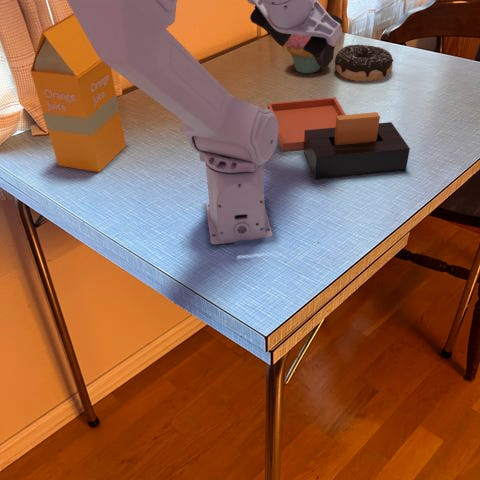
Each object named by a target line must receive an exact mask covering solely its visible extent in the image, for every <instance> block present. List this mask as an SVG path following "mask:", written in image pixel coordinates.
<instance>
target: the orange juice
mask: <svg viewBox="0 0 480 480" xmlns="http://www.w3.org/2000/svg"><path fill="white" fill-rule="evenodd" d="M30 73H31V79H32V82H33V84H34V88H35V91H36V95H37V98H38V101H39V105H40V108H41V112H42V116H43V120H44V123H45V126H46V130H47V132H48V136H49V139H50V142H51V145H52V148H53V152H54V155H55V159H56V162H57V165H58V166H59V167H66V168H71V169H77V170H84V171H91V172H96V173H97V172H98V173H101V171H103V170H104V169H105V167H107V165H108V164H110V162H112V161H113V159H115V158H116V157H117V156H118V155H119V154H120V153H121V152H122V151H123V150H124V149H125V148H126V147H127V143H126V137H125V134H124V128H123V122H122V118H121V114H120V106H119V101H118V96H117V95H118V94H117V92H116V88H115V83H114V78H113V71H112V68H111V67H110V66H108V65H107V64H106V63H104V62H103V61H102V60H101V59H100V58H99V57H98V55H97V54H96V52H95V50H94V48H93V47H92V45H91V43H90V41H89V40H88V38H87V36H86V34H85V32H84V31H83V29H82V27H81V25H80V23H79V22H78V20H77V18H76V16H75V14H74V13H72V14H70V15H68V16H66V17H64V18H63V19H61V20H59V21H57V22H56V23H54V24H52V25H51V26H49V27H46V28H45V29H43V30H41V34H40V38H39V41H38V45H37V47H36V52H35V55H34V58H33V61H32V65H31V69H30Z"/></svg>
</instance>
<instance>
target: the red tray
mask: <svg viewBox="0 0 480 480" xmlns="http://www.w3.org/2000/svg"><path fill="white" fill-rule="evenodd" d="M267 109H269V110H272V111H273V112H274V114H275V116H276V118H277V121H278V139H277V142H278V144H279V146H280V149H281V152H292V151H304V134H305V130H313V129H324V128H334V127H336V116H341V115H346V113H345V111H344V109H343V108H342V106H341V104H340V102H339V101H338V99H337V97H335V96H334V97H333V96H332V97H323V98H312V99H311V98H310V99H301V100H290V101H279V102H278V101H277V102H268V103H267Z"/></svg>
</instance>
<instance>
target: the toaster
mask: <svg viewBox="0 0 480 480" xmlns="http://www.w3.org/2000/svg"><path fill="white" fill-rule="evenodd" d="M334 140H335V127H334V128H324V129H313V130H305V134H304V149H303V153H304V156H305V158H306V160H307V163H308V165H309V168H310V170H311V173H312V175H313V177H314V180H315V181H318V180H320V181H321V180H329V179H339V178H347V177H348V178H350V177H357V176H359V177H360V176H371V175H377V174H389V173H399V172H406V171H407V167H408V161H409V156H410V149H411V148H410V146H409V144H407V142H406V141H405V139H404V138H403V137H402V135H401V134H400V132H399V131H398V130H397V128H396V126H395V125H394V124H393V122H391V121H390V122H379V127H378V134H377V142H367V143H356V144H346V145H336V146H334Z"/></svg>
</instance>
